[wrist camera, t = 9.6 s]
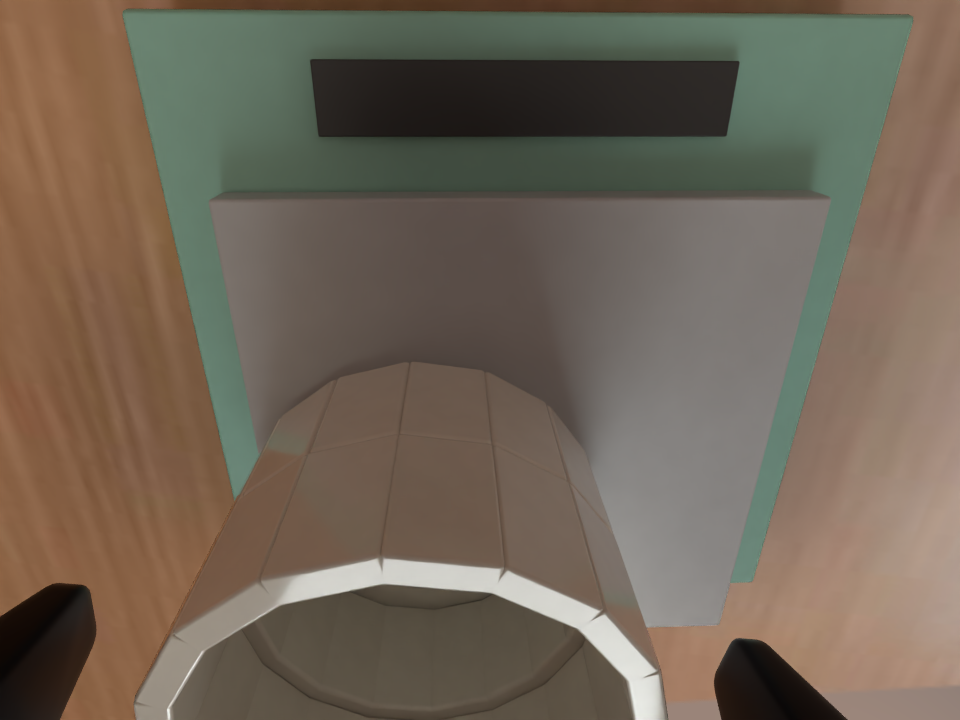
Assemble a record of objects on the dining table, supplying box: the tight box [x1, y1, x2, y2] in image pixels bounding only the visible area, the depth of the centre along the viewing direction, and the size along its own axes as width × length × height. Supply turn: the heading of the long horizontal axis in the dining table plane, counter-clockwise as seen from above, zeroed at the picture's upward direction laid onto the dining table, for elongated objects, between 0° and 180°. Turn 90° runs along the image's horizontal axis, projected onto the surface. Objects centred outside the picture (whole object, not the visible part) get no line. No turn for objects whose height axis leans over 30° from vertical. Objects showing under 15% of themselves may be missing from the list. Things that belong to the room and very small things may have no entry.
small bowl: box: [134, 361, 668, 720], centre depth 9 cm, size 6×6×5 cm
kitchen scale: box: [123, 9, 913, 627], centre depth 11 cm, size 12×11×2 cm
